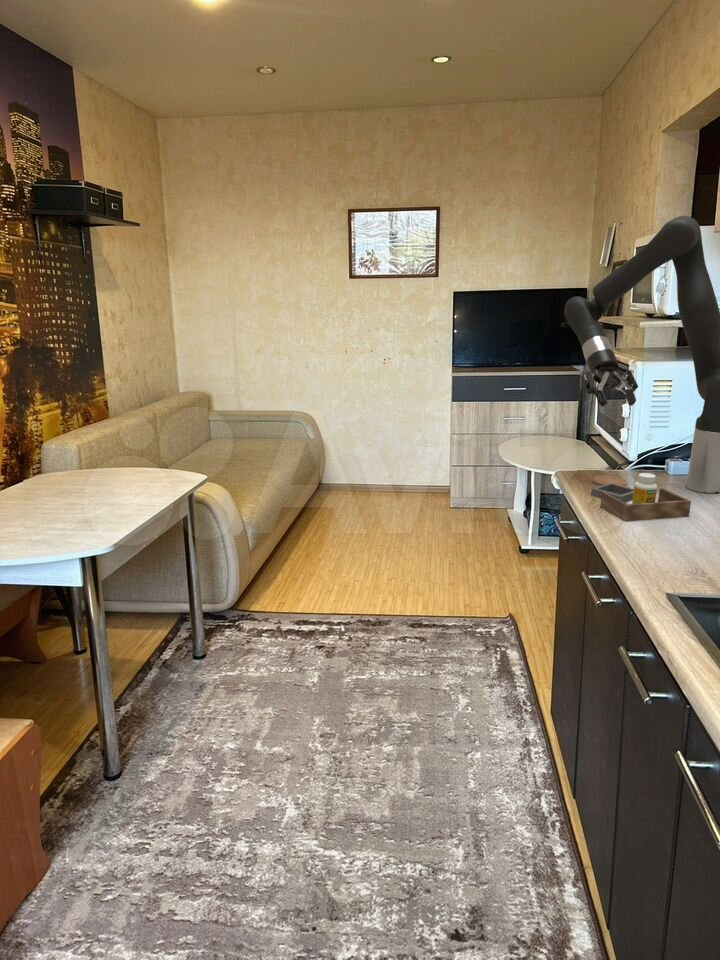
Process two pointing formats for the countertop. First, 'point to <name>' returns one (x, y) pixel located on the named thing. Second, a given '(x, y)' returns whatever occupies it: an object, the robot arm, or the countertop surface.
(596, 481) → the tan round disc
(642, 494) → the supplement bottle
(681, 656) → the countertop surface
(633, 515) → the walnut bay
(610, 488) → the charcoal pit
